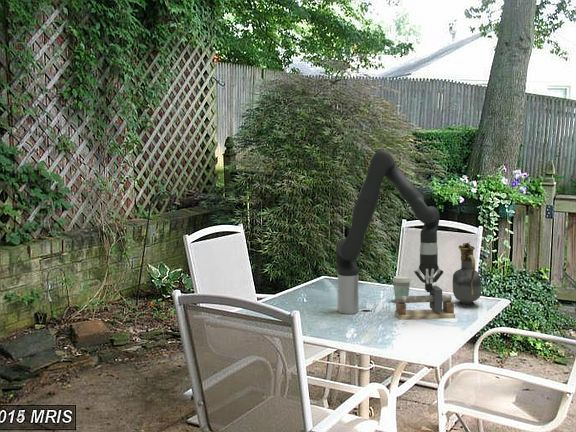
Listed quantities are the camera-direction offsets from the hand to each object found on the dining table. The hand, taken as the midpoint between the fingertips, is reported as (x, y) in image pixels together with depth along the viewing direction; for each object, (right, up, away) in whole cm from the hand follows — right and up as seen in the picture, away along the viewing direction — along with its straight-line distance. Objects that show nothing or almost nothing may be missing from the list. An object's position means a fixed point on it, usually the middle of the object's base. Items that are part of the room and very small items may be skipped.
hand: (428, 291), depth 268 cm
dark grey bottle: (+22, -9, +18) cm, 30 cm away
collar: (+3, -8, +1) cm, 9 cm away
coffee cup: (-7, -8, +28) cm, 30 cm away
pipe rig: (-2, -11, +1) cm, 11 cm away
